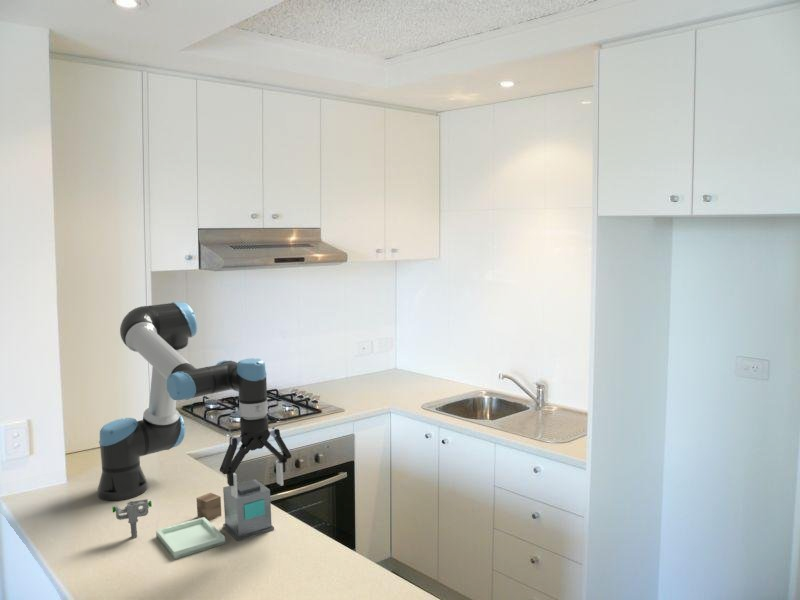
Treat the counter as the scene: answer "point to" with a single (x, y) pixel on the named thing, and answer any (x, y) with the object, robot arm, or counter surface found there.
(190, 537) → the tray
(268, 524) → the unit
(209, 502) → the walnut block
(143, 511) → the mechanical component
